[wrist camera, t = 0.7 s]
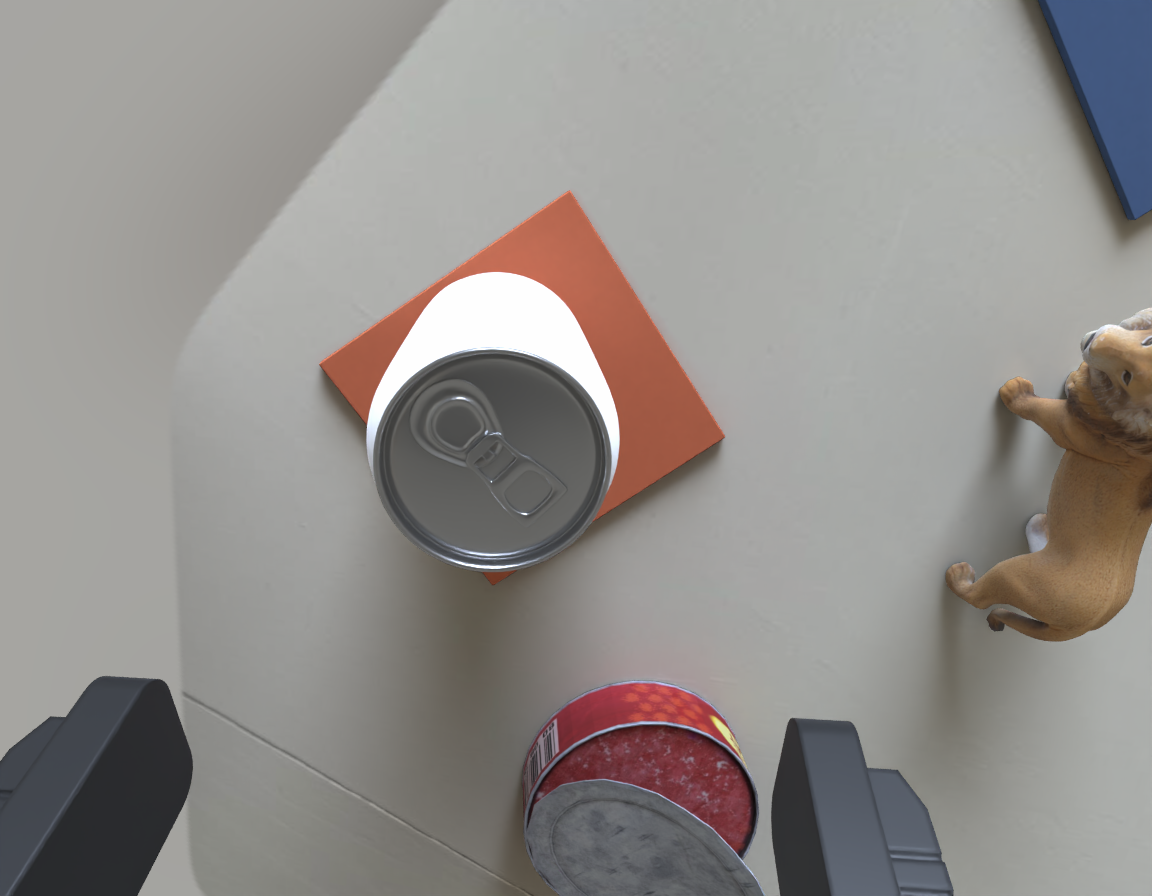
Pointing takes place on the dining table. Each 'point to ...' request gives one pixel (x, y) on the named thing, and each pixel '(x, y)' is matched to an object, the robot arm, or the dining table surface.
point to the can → (493, 427)
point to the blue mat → (1112, 85)
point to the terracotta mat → (610, 325)
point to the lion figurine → (1081, 494)
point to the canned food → (639, 797)
